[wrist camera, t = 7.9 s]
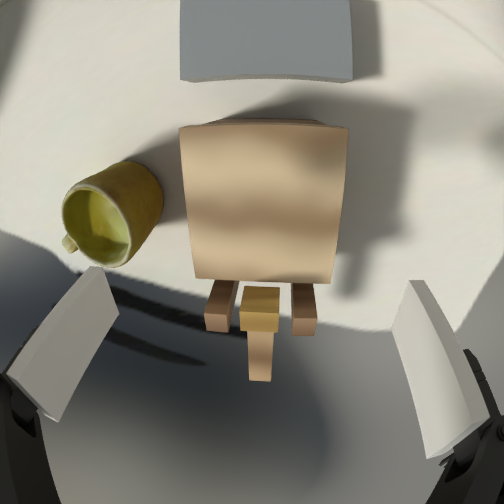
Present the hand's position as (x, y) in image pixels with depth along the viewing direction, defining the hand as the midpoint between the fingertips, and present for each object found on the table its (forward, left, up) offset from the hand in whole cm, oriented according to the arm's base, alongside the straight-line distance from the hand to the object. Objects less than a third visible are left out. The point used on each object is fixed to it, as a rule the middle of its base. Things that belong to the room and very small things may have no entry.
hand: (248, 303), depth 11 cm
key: (+12, 0, -9) cm, 15 cm away
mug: (+2, -17, -19) cm, 25 cm away
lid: (0, 0, -11) cm, 11 cm away
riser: (-15, 0, -18) cm, 23 cm away
